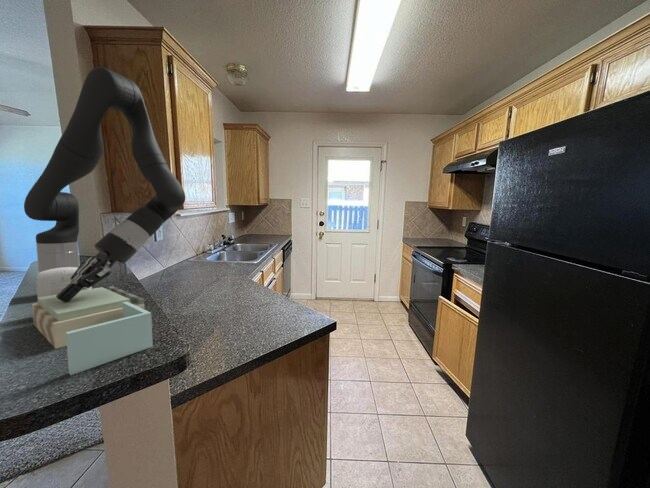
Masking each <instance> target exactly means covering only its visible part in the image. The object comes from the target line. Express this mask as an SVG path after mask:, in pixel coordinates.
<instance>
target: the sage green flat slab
mask: <svg viewBox="0 0 650 488" xmlns="http://www.w3.org/2000/svg"><path fill="white" fill-rule="evenodd" d="M57 295H58V294H57ZM57 295H51V296H45V297H38V296H37V299H36V300H37V303H38V304H39V305H40V306H41V307H42V308H43V309H44V310H46V311H47V312H48V313H49V314H50V315H51V316H53V317H54V318H55V319H56V320H57V321H62V320H67V319H71V318H76V317H80V316H85V315H89V314H94V313H98V312H103V311H107V310H112V309H116V308H121V307H122V302H129V303H130V299H129V298H126V297H124V296H122V295H119V294H117V293H115V292H112V291H110V290H109V289H108V288H105V287H103V286H102V287H94V288H92V289H88V290H82V291H80V292H78V293H77V294H76V295H75V296H74V297H73V298H72V299H71V300H70V301H69V302H63V301H61V300H59V299H58V298H57V297H56V296H57Z"/></svg>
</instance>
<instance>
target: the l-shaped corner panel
mask: <svg viewBox="0 0 650 488" xmlns="http://www.w3.org/2000/svg"><path fill="white" fill-rule="evenodd" d="M122 308H123V318H121V319H117V320H113V321H109V322H105V323H101V324H97V325H93V326H89V327H85V328H81V329H77V330H73V331H69V332H66V342H67V346H66V353H67V367H68V374H69V375H70V376H72V375H75V374H79V373H81V372H84V371H87V370H90V369H93V368H95V367H98V366H101V365H103V364H107V363H109V362H112V361H115V360H118V359H121V358H124V357H126V356H130V355H133V354H135V353H139V352H142V351H144V350H148V349H149V348H152V347H153V344H154V343H153V326H152V325H153V323H152V321H153V320H152V312H151V311H148V310H147V309H145V310H144V309H142V308H140V307H138V306H136V305H133V304H131V303H129V302H122Z"/></svg>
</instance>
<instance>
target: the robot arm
mask: <svg viewBox="0 0 650 488" xmlns="http://www.w3.org/2000/svg"><path fill="white" fill-rule="evenodd" d="M109 109H112V110H115V111H118V112H121V113H122V114H123V115H124V116H125V118H126V120H127V121H128V124H129V126H130V128H131V135H132V136H131V147H130V148H131V152H132V156H133V158H134V161H135V163H136V165H137V166H138V168H139V171H140V173H141V175H142V176H143V178H144V179H145V180H146V181H147V182H149V183H150V184H151V186H152V188H153V189H154V192H155V195H154V196H153V197H152V198H151V199H150V200H149V201H148V202H147V203H145V204H144V205H143V206H140V207H138V208H137V209H135V210H134V211H133V212H132V213H131V214H130V215H129V216H127V218H125V219H124V220H123V221H121V222H119V223H118V224H117V225H116V226H114V228H113V227H112V229H111V230H110V231H109V232H107V233H106V234H105V235H103V237H102V238H100V240H98V241H97V242H96V243H95V244H94V248H95V249H96V250H97V251H98V253H97V254H96V255H94V256H91V257H89V258H88V259H87V260H86V261H82V262H81V263H80V257H79V256H80V255H79V246H78V245H79V243H78V237H79V232H80V206H79V201H78V199H77V198H76V196H75V195H74V194H72V193H70V192H63V189H65V188H66V187H67V186H69V185H72V183H74V182H77V181H79V180H80V179H83V178H85V177H86V176H87V175H89V174H91V173H92V172H93V171H94V170H95V169H96V167H97V166H98V164H99V162H100V160H101V158H102V157H103V154H104V149H105V147H104V140H103V136H102V132H101V131H102V130H101V125H102V122H103V118H104V117H105V116H106V113H107V112H108V110H109ZM150 119H151V118H150V117H149V113H148V109H147V106H146V104H145V100H144V97H143V94H142V91H141V89H140V88H139V86H138V85H137V84H136V83H135V82H134V81H133V80H131V79H130V78H128V77H126V76H123V75H122V74H119V73H117V72H115V71H113V70H110V68H109V69H108V68H106V67H103V66H96V67H94V68H92V69H91V70H90V71H89V72H88V74H87V75H86V77H85V79H84V81H83V85H82V87H81V89H80V93H79V95H78V100H77V102H76V105H75V108H74V111H73V112H72V115H71V117H70V119H69V121H68V124H67V126H66V128H65V129H64V132H63V133H62V135H61V137H60V139H58V142H57V144H56V146H55V148H54V150H53V152H52V155H51V157H50V159H49V161H48V163H47V165H46V166H45V168H44V169H43V172H42V174H40V176H39V177H38V178H37V180H36V181H35V183H34V184H33V185H32V187H31V188H30V190H29V191H28V193H27V195H26V196H25V200H24V204H23V210H24V213H25V215H26V216H27V217H28V218H29V219H31V220H33V221H40V222H41V221H44V222H56V223H55V225H54V226H53V227H52V228H50V229H47V230H45V231H42V232H41V231H40V232H39V233H37V234H36V235H35V243H36V245H35V246H36V254H37V268H38V273H40V272H42V271H46V270H50V269H55V268H62V267H77V268H78V269H77V270H76V271H75V273H74V274H73V275H72V277H71V278H70V279H71V281H70V284H69V285H68V286H67V287H65V288H64V289H63V290H62V291H61V292H60V293H59V294H58V295H57V296H56V297H57V298H58V299H59V300H61V301H63V302H69V301H70V300H71V299H72V298H73V297H74V296H75V295H76V294H77V293H78V292H80V291H81V290H82V289H85V288H86V287H87V288H90V287H91V286H92V287H94V285H96V284H97V283H99V282H101V281H102V280H104V279H105V278H107V277H108V276H110V275H111V273H112V272H111V270H112V267H113V266H114V265H115V263H117V264H120V265H125V264H126V263H127V262H128V261H129V260H130V259H131V258H132V257H133V256H134V255H135V254H136V253H137V252H138V251H140V249H141V248H143V246H144V245H146V243H147V242H148V240H149V239H150V238H151V237H152V236H153V235H154V234H155V233H156V232H157V231H158V230H159V229H160V228H161V226H162V225H164V223H165V222H166V221H167V220H169V219H170V218H171V217H172V216H174V215H175V214H176V213H177V212H178V211H179V210H180V209H181V208H182V206H183V205H184V204H185V201H186V192H185V190H184V188H183V187H182V185H181V183H180V182H179V180H178V179H177V178H176V176H175V175H174V174H173V172H172V171H171V170H170V167H169V165H168V163H167V161H166V159H165V157H164V155H163V153H162V150H161V148H160V145H159V143H158V142H157V138H156V136H155V133H154V130H153V126H152V123H151V120H150Z"/></svg>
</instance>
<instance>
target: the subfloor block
mask: <svg viewBox="0 0 650 488" xmlns="http://www.w3.org/2000/svg"><path fill="white" fill-rule="evenodd" d="M107 289H108V290H110V291H112V292H115V293H117V294H119V295H122V296H124V297H126V298H129V299H130V303H131V304H133V305H136V306H138V307H140V308H142V309H144V310H146V308H145V298H144V297H142V296H141V297H140V296H138V295H136V294H133V293H131V292H128V291H126V290H123V289H120V288H118V287H116V286H114V285H111V286H108V288H107ZM31 309H32V321H33V322H32V323H33V325H34V327H35V328H36V329H37V330H38V331H39V333H40V334H41V335H42V336H43V337H44V338H45V339H46V340H47V341H48V342H49V343H50V344H51V346H52V347H53V348H54V349H55V350H57V349H61V348H64V347H67V342H66V332H69V331H73V330H77V329H81V328H85V327H89V326H93V325H97V324H101V323H105V322H109V321H113V320H117V319H121V318H123V308H122V307H121V308H116V309H112V310H107V311H103V312H98V313H94V314H89V315H85V316H80V317H76V318H71V319H67V320H62V321H57V320H56V319H55V318H54V317H53V316H51V315H50V314H49V313H48V312H47V311H46V310H44V309H43V308H42V307H41V306H40V305H39V304H38V302H36V303H32V304H31Z"/></svg>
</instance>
